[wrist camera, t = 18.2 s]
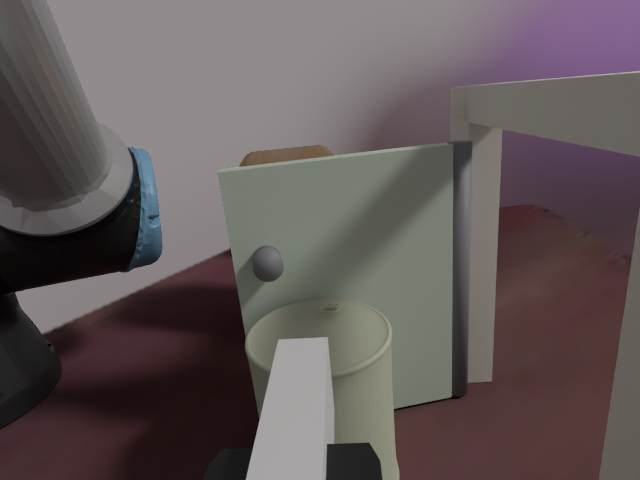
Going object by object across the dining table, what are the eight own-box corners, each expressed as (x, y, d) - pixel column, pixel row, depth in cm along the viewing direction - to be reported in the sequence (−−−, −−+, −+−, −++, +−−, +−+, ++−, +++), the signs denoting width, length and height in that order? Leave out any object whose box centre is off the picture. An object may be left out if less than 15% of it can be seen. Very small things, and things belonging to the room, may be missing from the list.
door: (260, 409, 37) (220, 165, 30) (453, 371, 39) (454, 138, 32) (263, 452, 32) (216, 176, 25) (480, 406, 34) (489, 143, 28)
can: (405, 434, 33) (400, 294, 29) (389, 553, 24) (379, 378, 21) (294, 418, 36) (276, 289, 32) (245, 520, 27) (213, 361, 23)
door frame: (614, 724, 17) (758, 63, 9) (449, 349, 43) (450, 87, 35) (676, 724, 17) (876, 51, 9) (473, 348, 43) (480, 84, 35)
